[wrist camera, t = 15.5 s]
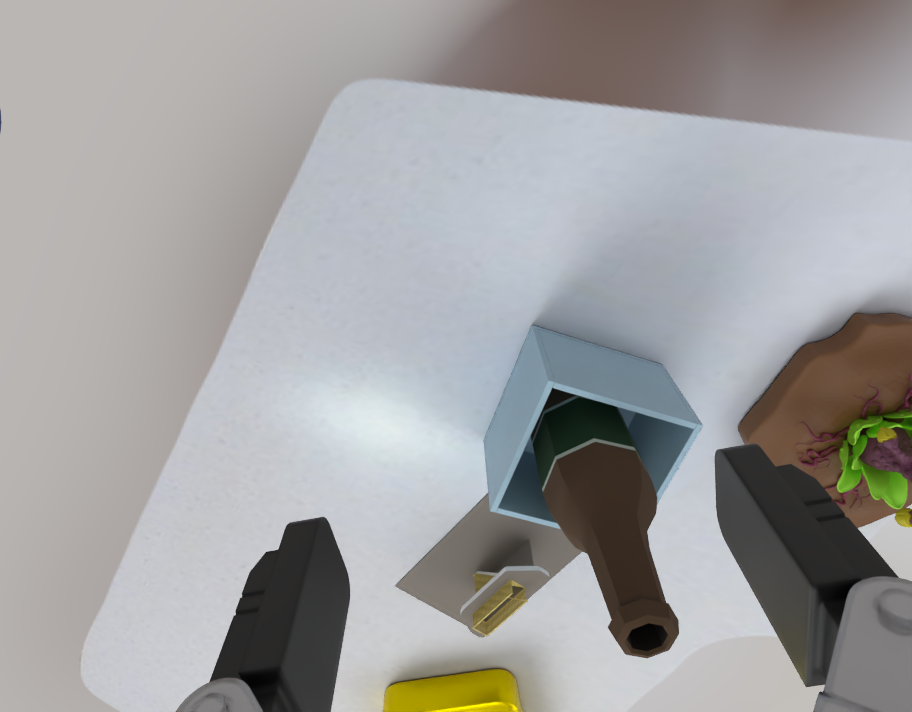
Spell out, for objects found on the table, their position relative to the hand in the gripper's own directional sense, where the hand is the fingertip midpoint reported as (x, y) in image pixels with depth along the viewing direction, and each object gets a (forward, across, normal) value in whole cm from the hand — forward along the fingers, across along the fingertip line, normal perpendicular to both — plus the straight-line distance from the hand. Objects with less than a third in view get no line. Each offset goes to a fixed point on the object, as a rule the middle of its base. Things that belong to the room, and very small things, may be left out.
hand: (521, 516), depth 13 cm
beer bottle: (+38, -5, +21) cm, 44 cm away
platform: (+38, +4, +38) cm, 54 cm away
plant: (+38, -30, +29) cm, 56 cm away
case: (+38, -5, +21) cm, 44 cm away
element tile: (+38, +13, +61) cm, 73 cm away
